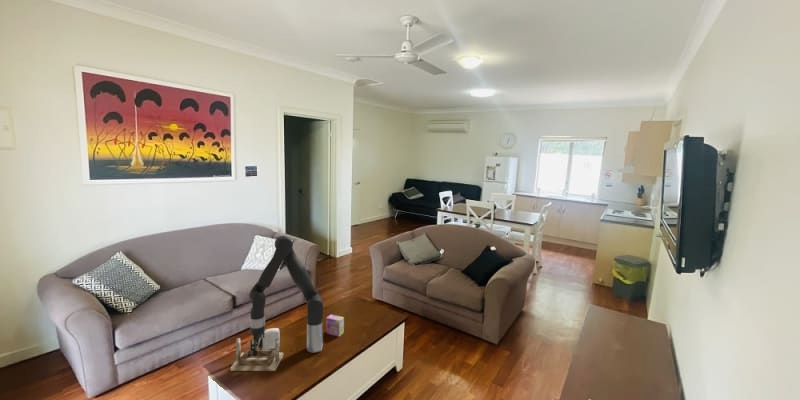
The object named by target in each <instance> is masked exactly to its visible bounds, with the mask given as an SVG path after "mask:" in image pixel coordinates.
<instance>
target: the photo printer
mask: <svg viewBox="0 0 800 400" xmlns="http://www.w3.org/2000/svg"><path fill="white" fill-rule="evenodd" d="M280 333H281V332H280V328H277V327H272V328H267V329H265V332H264V336H265V337H264V338H263V347H262V348H261V350H275V339H277V338H279V345H280V342H281V341H280V340H281V339H280V338H281V337H280V335H281V334H280Z"/></svg>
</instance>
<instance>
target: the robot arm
mask: <svg viewBox="0 0 800 400" xmlns="http://www.w3.org/2000/svg"><path fill="white" fill-rule="evenodd" d="M293 247H294V243H293V240H292V239H291V238H290V237H288V236H286V235H279V236H278V237H276V239H275V240H274V248H275V251H274V253H273V256H272V257H271V259H270V261H269V263H268V264H267V265H266V266H265V268H264V269H263V271H262V273H261V274H260V276H259V278H258V281H256V283H255V284H254V286H253V287H252V288H251V290H250V291H249V294H248V295H249V297H248V298H249V299H250V301H251V302H252V307H251V309H250V321H249V323H250V324H249V325H250V330H249V331H250V335H252V339H251V340H250V350H251V351H253V356H257V350H258V349H262V347H263V338H264V337H265V336H264V332H265V330H266V318H265V307H266V301H267V298H266V294H265V290H266V289H268V288H270V286H271V284H272V283H273V280H274V279H275V276H276V275H277V273H278V271H279V269H280V267H281V266H282V263H283V262H284V264H285V267H286V268H287V271H288V273H289V275H290V277H291V279H292V281H293V283H294V284H295V286H297V288H298V289H299V290H300V291H301V293H302V294H303V297H304V299H305V302H306V306H307V314H306V315H307V318H306V351H307V352H309V353H313V354H314V353H319V352H322V349H323V346H324V331H323V321H324V320H323V319H324V302H323V299H322V297H321V296H320V294H319V293H318V291H317V290H316V288H315V287H314V284H313V282H312V280H311V277H310V274H309V273H308V271H307V268H306V267H305V265H304V264H303V262H302V260H301V259H300V258H299V257H298V256H297V254H296V252H295V250H294V248H293Z"/></svg>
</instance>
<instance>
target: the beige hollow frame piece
mask: <svg viewBox="0 0 800 400" xmlns="http://www.w3.org/2000/svg"><path fill="white" fill-rule="evenodd" d="M235 346H236V347H235V353H236V356H235V359H236V360H235V361H234V363H233V364H232V365H231V367H230V371H231V372H234V371H237V372H239V371H240V372H241V371H242V372H243V371H244V372H255V371H256V372H257V371H258V372H260V371H261V372H268V371H269V372H273V371H274V372H276V370H277V369H278V366H279V365H280V362H281V360H282V359H283V357H284V352H280V344H279V338H277V339H275V349H269V350H262V349H257V356H253V351H251V349H246V350H244V351H243V352H241V351H242V350H241V349H242V347H241V338H240V337H238V338H237V337H236V339H235Z"/></svg>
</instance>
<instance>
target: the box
mask: <svg viewBox="0 0 800 400" xmlns="http://www.w3.org/2000/svg"><path fill="white" fill-rule="evenodd" d="M325 324H326V332H325V333H326V334H328V335H332V336H334V337H335V336H336V337H338V338H340V337H341V336H342V335H343V334H344V332H345V330H344V329H345V317H344V316H340V315H335V314H330V315H328V316H327V317H326V323H325Z"/></svg>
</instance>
